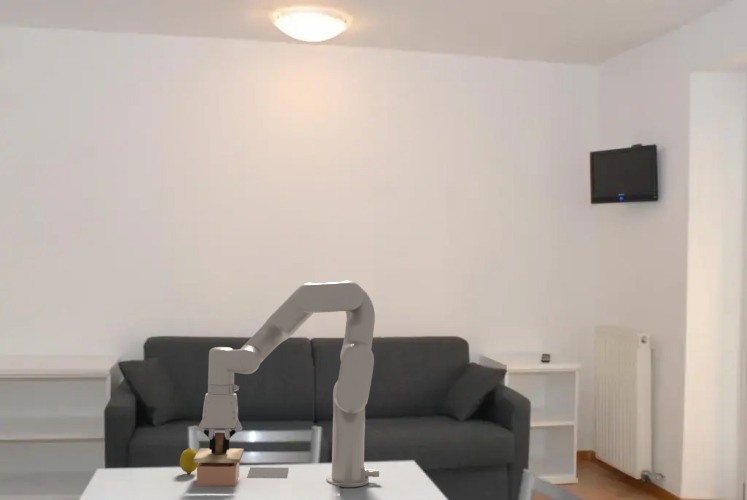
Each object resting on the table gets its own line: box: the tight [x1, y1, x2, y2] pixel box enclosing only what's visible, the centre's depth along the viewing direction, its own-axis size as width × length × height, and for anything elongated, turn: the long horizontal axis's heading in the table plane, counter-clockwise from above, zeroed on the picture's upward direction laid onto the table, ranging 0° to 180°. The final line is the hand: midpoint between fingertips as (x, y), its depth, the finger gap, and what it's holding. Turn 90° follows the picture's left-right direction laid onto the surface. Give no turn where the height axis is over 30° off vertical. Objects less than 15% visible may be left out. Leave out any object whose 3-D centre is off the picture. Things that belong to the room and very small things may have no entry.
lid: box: [193, 431, 245, 464], centre depth 234 cm, size 13×13×7 cm
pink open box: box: [196, 461, 241, 487], centre depth 234 cm, size 11×11×6 cm
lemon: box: [179, 447, 199, 475], centre depth 242 cm, size 6×6×8 cm
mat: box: [246, 466, 289, 479], centre depth 244 cm, size 12×12×1 cm
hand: (219, 451), depth 234 cm, fingers closed on lid, 2 cm apart
